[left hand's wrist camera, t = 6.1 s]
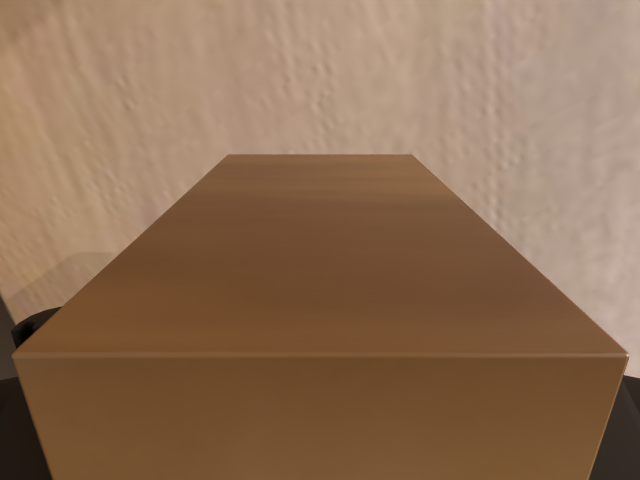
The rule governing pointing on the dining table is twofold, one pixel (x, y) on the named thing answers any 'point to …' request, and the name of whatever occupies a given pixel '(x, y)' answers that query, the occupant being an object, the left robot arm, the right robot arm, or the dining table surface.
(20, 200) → the dining table surface
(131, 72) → the dining table surface
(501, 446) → the box
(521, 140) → the dining table surface
